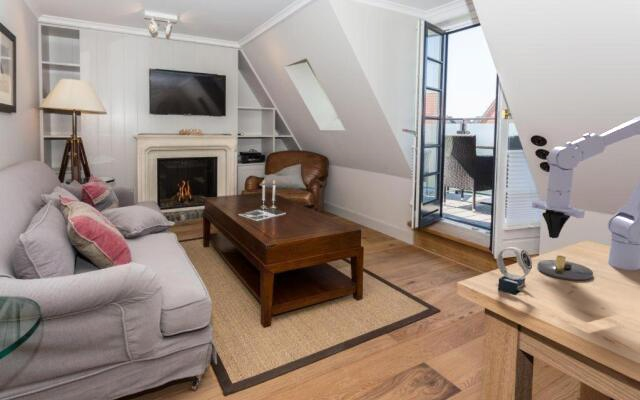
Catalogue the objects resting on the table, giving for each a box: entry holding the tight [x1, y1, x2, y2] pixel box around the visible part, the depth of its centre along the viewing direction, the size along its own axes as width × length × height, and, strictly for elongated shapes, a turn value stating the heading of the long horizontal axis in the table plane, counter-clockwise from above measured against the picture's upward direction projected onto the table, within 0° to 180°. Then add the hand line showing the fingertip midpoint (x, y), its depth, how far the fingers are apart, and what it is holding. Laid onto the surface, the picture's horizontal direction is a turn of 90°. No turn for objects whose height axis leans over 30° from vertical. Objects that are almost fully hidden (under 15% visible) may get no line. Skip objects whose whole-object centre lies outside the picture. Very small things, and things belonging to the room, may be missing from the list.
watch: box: [496, 246, 533, 296], centre depth 102 cm, size 6×8×11 cm
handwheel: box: [536, 255, 594, 282], centre depth 111 cm, size 13×13×6 cm
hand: (553, 237), depth 116 cm, fingers closed
